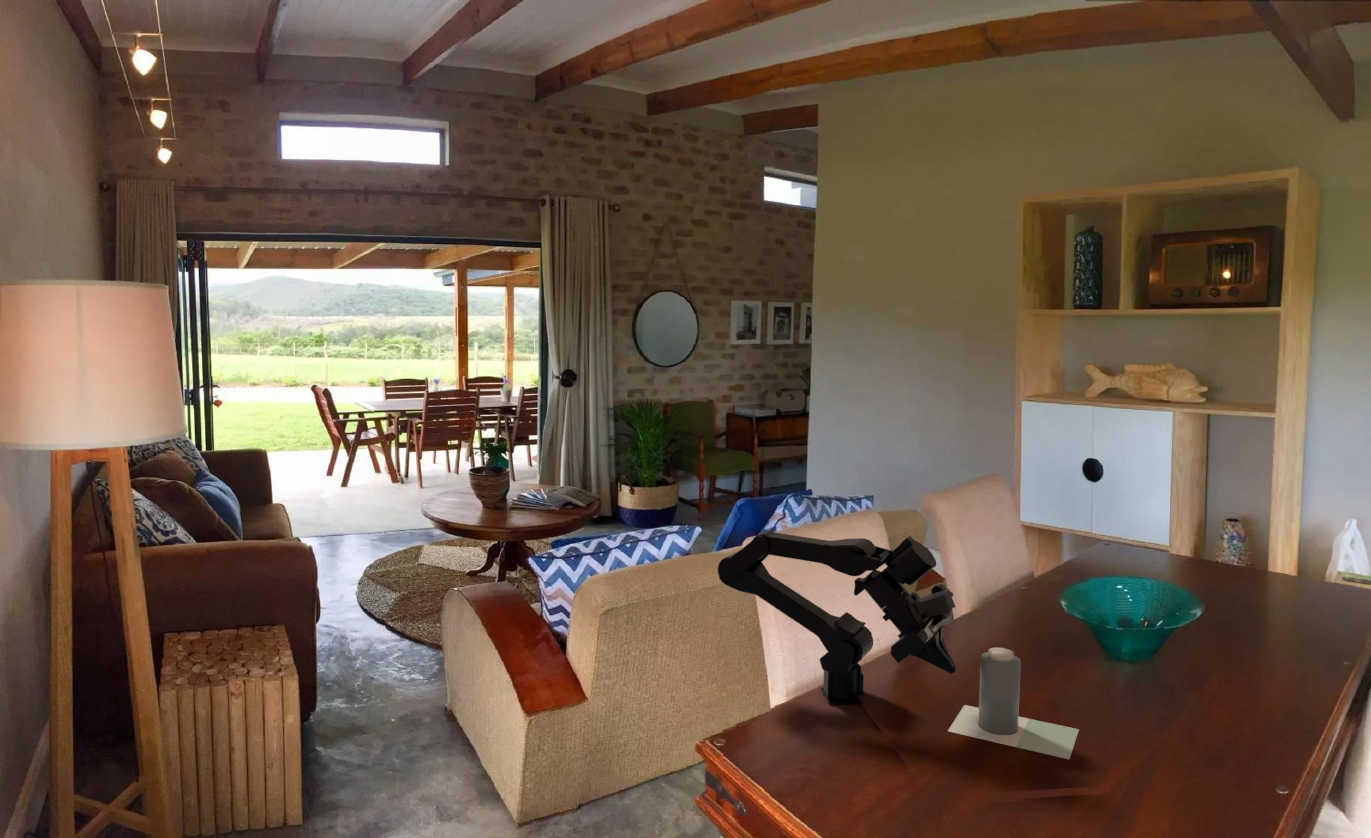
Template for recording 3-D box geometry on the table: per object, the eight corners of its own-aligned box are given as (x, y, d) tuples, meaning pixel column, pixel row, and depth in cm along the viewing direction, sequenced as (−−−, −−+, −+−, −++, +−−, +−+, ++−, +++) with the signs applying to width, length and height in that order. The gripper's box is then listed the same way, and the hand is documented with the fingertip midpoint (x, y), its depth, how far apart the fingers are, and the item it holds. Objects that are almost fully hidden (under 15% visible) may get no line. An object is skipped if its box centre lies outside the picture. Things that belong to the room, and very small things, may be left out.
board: (947, 735, 149) (947, 730, 149) (964, 709, 159) (964, 704, 159) (1069, 763, 139) (1069, 759, 139) (1078, 733, 149) (1079, 729, 149)
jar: (988, 736, 147) (991, 659, 145) (971, 719, 153) (974, 645, 152) (1025, 734, 147) (1028, 658, 146) (1006, 717, 154) (1010, 644, 152)
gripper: (911, 586, 146) (977, 664, 142) (940, 561, 162) (1000, 630, 158) (864, 624, 151) (926, 700, 147) (897, 595, 167) (954, 663, 162)
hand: (954, 671), depth 153 cm, fingers closed
